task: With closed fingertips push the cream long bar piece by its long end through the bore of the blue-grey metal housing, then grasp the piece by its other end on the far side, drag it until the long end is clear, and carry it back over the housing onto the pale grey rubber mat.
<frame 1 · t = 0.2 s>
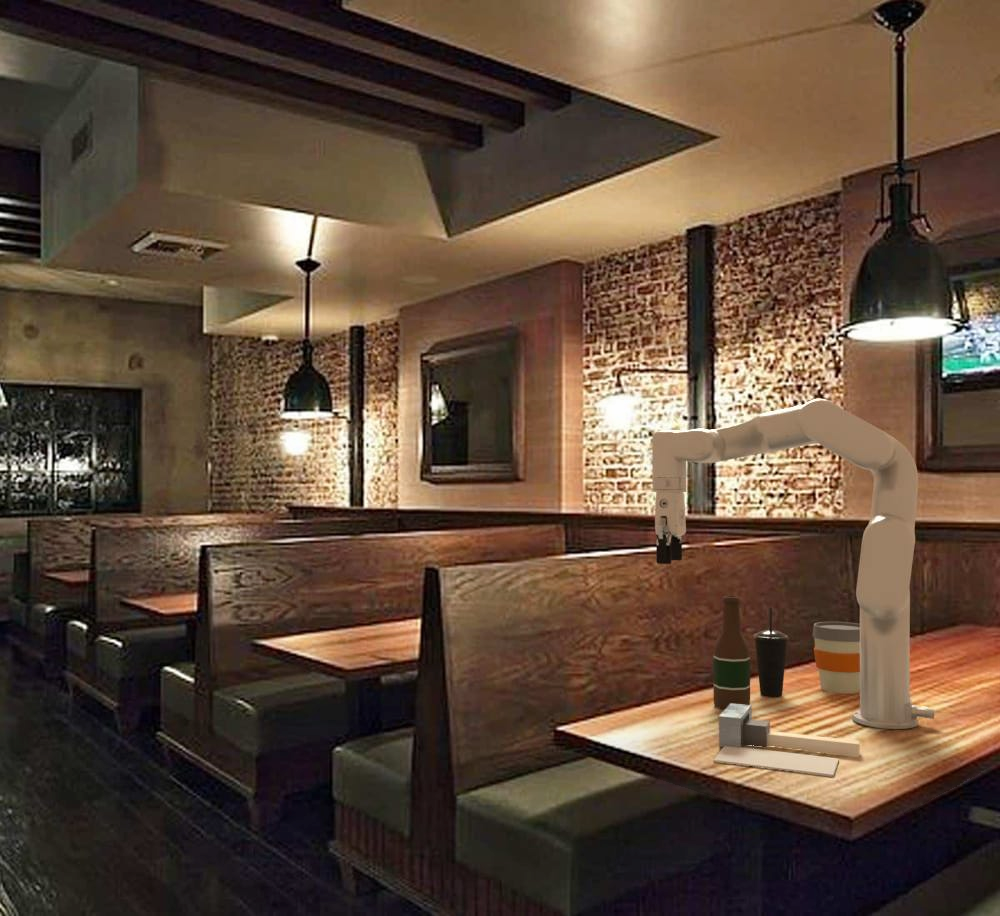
hand: (669, 561, 215), 31 cm above the table, tool pointing down, fingers open, 9 cm apart
beer bottle: (731, 707, 209), on the table
reusable coffee cup: (840, 690, 226), on the table
drinking cup: (771, 695, 220), on the table
cream long bar piece: (768, 745, 179), on the table
mat: (776, 761, 169), on the table
housing: (735, 741, 182), on the table
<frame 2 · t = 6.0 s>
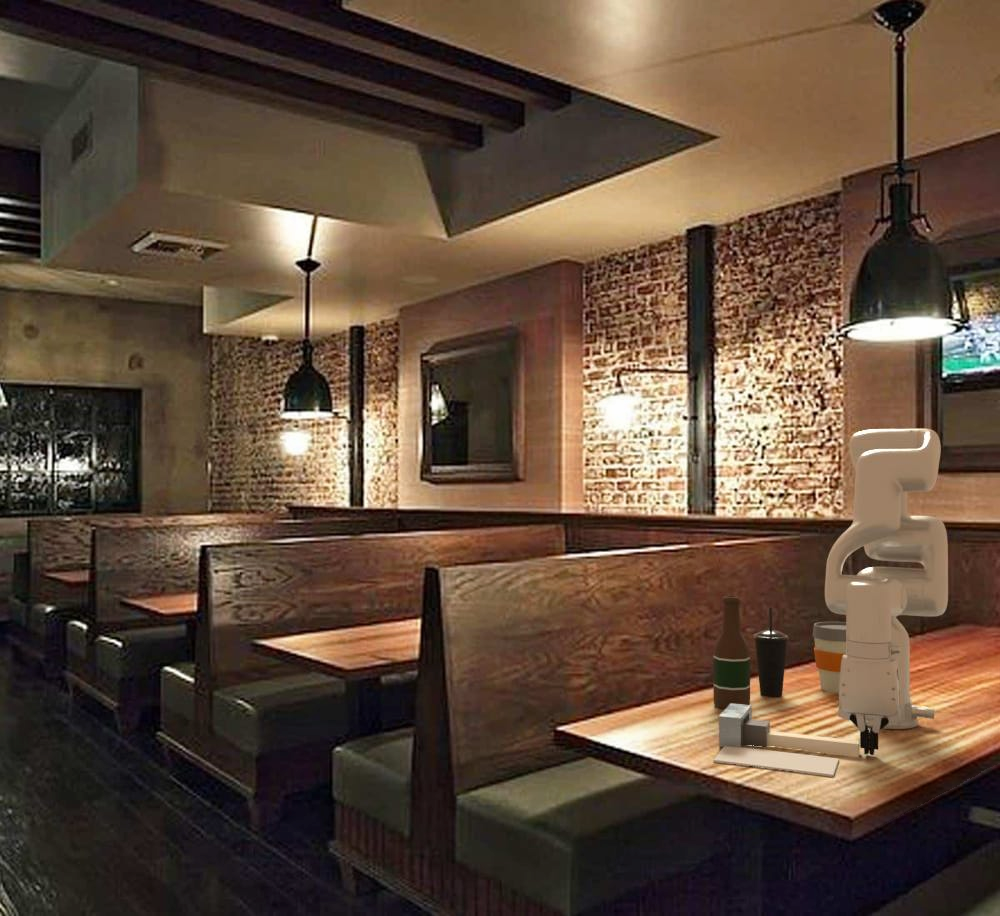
hand: (869, 752, 172), 1 cm above the table, tool pointing down, fingers closed
cream long bar piece: (768, 745, 179), on the table, touching gripper
everything else where it was.
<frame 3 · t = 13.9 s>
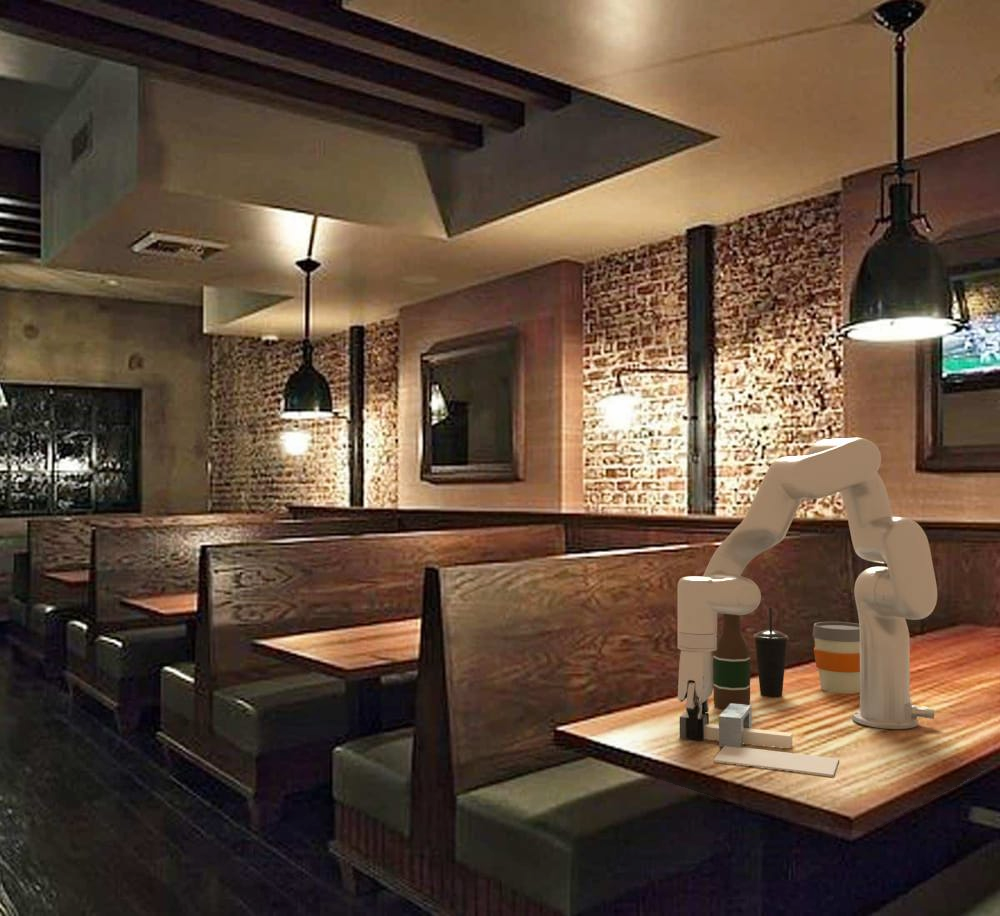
hand: (697, 735, 185), 0 cm above the table, tool pointing down, fingers closed on cream long bar piece, 4 cm apart
cream long bar piece: (705, 737, 184), on the table, touching gripper
everything else where it was.
when the fingers open (2 cm above the table, at t = 22.1 s): cream long bar piece stays where it is, resting on mat.
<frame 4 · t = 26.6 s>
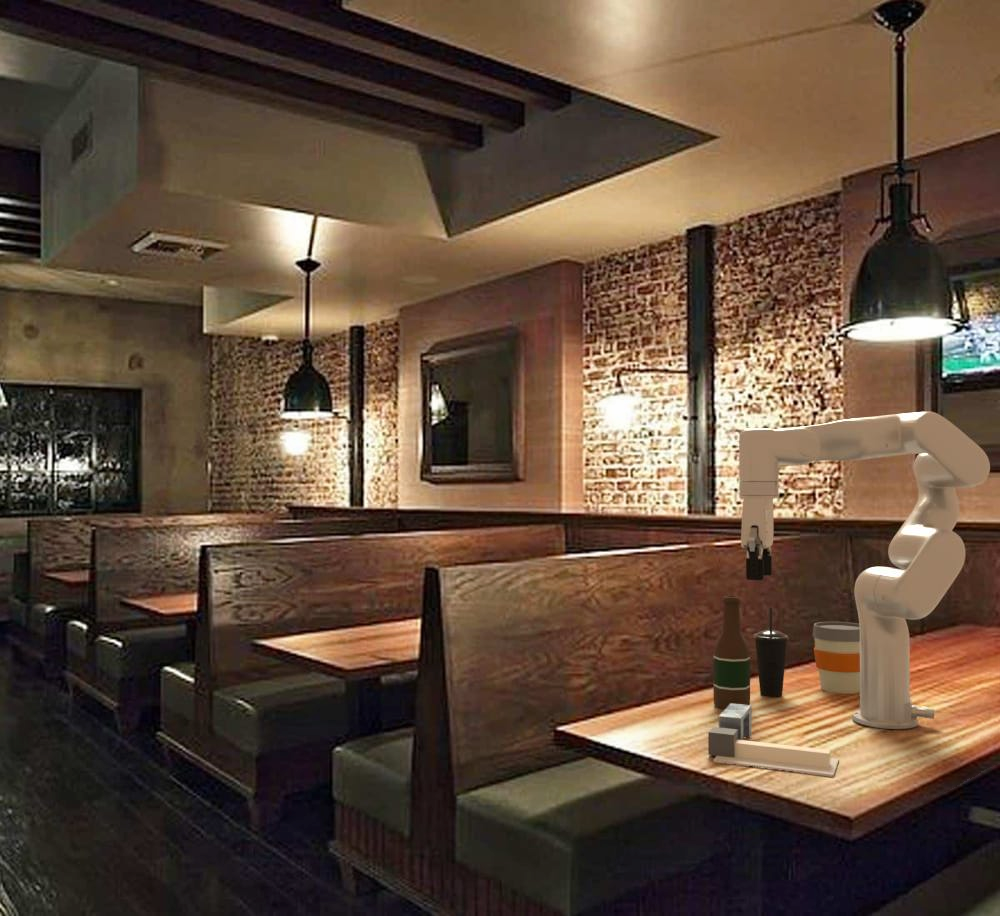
hand: (759, 577, 189), 30 cm above the table, tool pointing down, fingers open, 9 cm apart
cream long bar piece: (735, 754, 172), resting on mat
everything else where it was.
at the end: cream long bar piece inside the target area on the mat (1.5 cm from its centre), point 0.4 cm above the mat's base; cream long bar piece touching mat; the gripper is holding nothing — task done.
